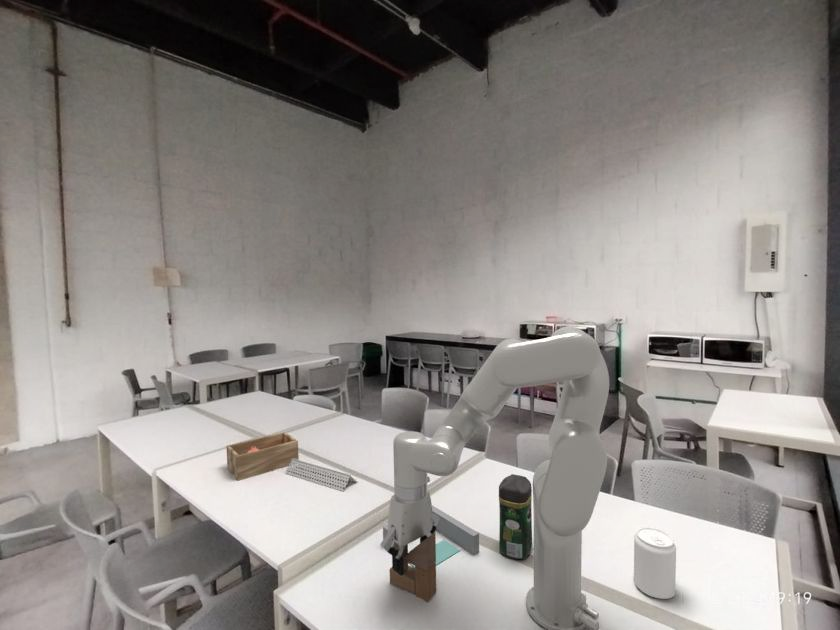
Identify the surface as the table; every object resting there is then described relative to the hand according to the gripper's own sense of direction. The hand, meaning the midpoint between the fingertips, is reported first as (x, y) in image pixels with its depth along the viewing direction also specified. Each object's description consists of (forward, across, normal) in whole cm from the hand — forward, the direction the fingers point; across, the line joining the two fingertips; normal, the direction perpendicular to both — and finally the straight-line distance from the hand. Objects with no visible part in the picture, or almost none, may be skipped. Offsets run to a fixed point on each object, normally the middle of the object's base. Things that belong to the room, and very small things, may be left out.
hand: (412, 563), depth 91 cm
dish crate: (+6, +3, -90) cm, 90 cm away
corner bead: (+7, -9, -65) cm, 66 cm away
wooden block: (+6, 0, 0) cm, 6 cm away
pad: (+6, -11, -5) cm, 13 cm away
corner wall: (+6, -13, -8) cm, 16 cm away
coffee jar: (+6, -29, +7) cm, 30 cm away
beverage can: (+6, -41, +36) cm, 55 cm away
